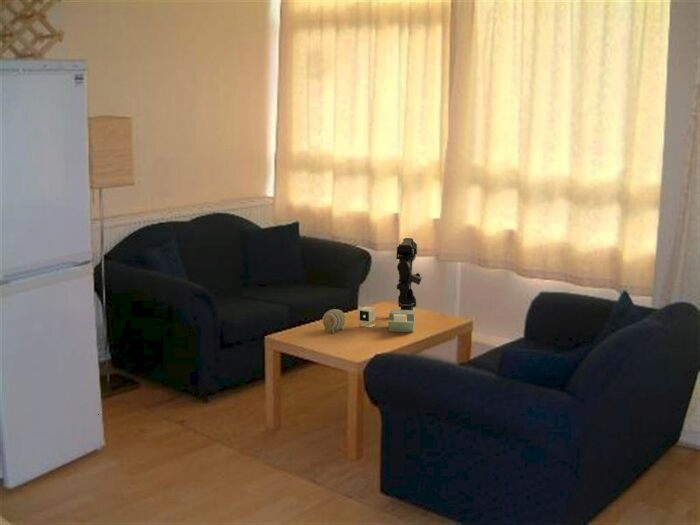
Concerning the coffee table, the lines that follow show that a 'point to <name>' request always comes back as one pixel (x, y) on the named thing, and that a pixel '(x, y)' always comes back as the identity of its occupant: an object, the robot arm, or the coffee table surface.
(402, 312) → the green napkin box
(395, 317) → the green envelope with card
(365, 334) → the coffee table surface
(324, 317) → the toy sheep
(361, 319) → the security camera
